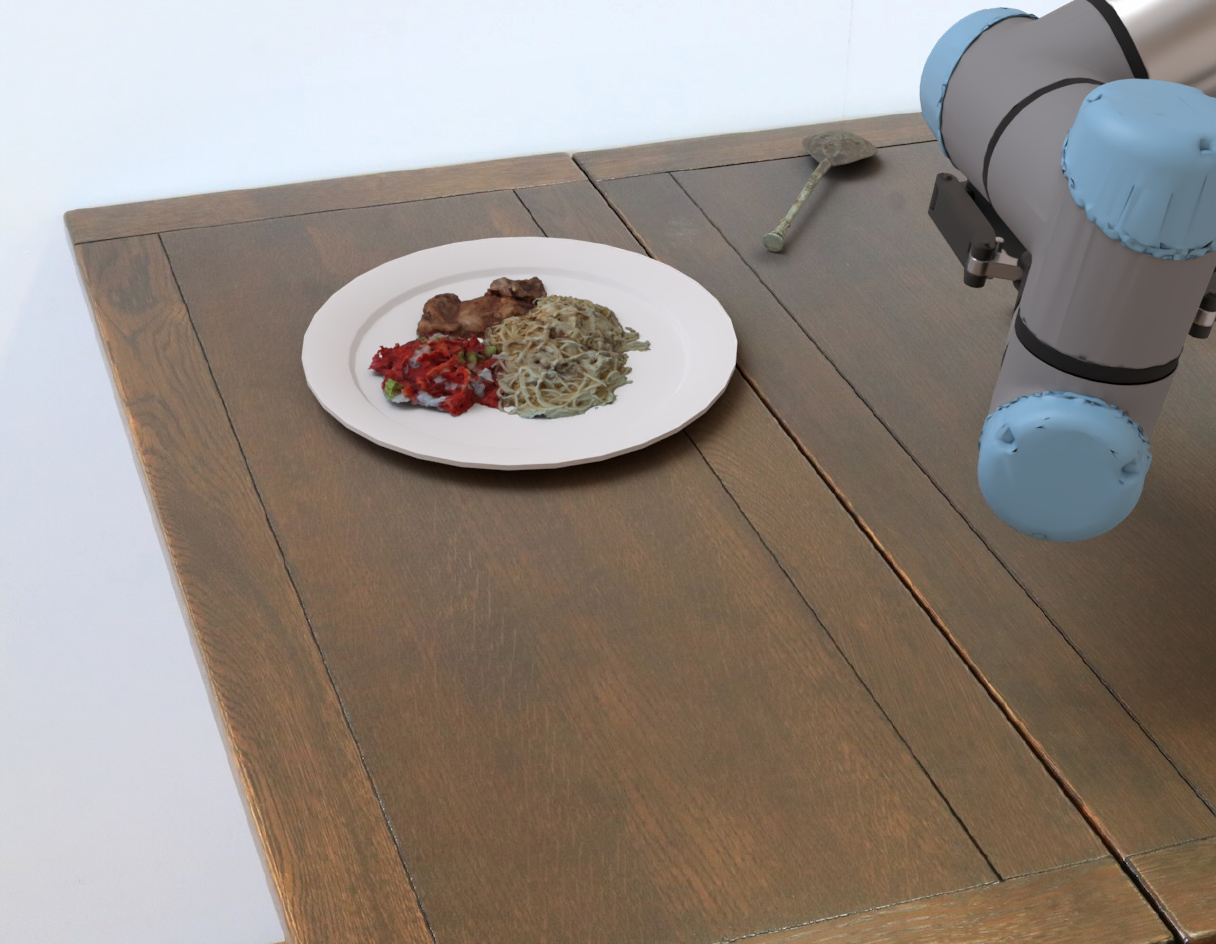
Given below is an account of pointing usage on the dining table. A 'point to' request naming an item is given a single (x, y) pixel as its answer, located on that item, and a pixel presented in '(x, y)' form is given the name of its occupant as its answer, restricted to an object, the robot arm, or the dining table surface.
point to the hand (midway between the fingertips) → (1108, 179)
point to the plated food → (519, 353)
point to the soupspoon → (821, 171)
